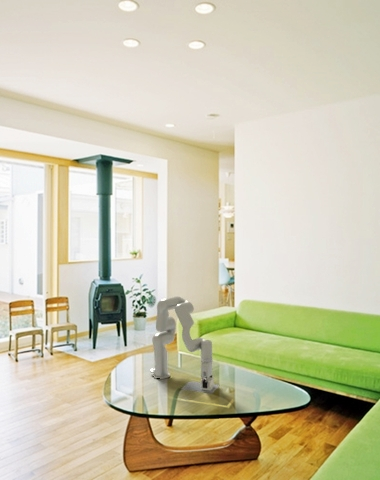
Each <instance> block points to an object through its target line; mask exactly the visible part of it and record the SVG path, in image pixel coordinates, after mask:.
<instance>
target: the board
mask: <svg viewBox="0 0 380 480" xmlns="http://www.w3.org/2000/svg"><path fill="white" fill-rule="evenodd" d="M220 386H221V385H220V384H215V383H214V387H213V388H212V390H211V391H210V390H203V389H201V381H200V382H199V381H193V380H190V381H188V382H187V383H186V384H185V385H183V387H182V388H181V390H183V391H190V392H197V393H203V394H210V395H211V394H214V392H215V391H216V390H217V389H218V388H219V387H220Z"/></svg>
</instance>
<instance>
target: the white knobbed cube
mask: <svg viewBox="0 0 380 480" xmlns="http://www.w3.org/2000/svg"><path fill="white" fill-rule="evenodd" d="M204 379H205V378H204ZM205 380H206V379H205ZM214 381H215V380H214V377H212V378H211V377H209V378H207V388H203V387H202V379H200V382H201V389H203V390H210V391H211V390H212V388H213V387H214V384H215V382H214Z"/></svg>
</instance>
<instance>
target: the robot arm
mask: <svg viewBox="0 0 380 480" xmlns="http://www.w3.org/2000/svg"><path fill="white" fill-rule="evenodd" d="M171 310H174V312H175V314H176V316H177V318H178V320H179V323H180V325H181V327H182V331H181V338H182V342H183V344H184V346H185V348H186V350H187V351H189V353H195V352H197V351H200V362H201V365H200V377H201V380H202V387H203V388H207V378H209V377H211V378H213V372H214V371H213V362H214V361H213V342H212V341H211V340H209V339H205V338H203V337H196V338H194V339H193V338H192V337H191V333H190V331H191V328H192V327H193V325H194V324H195V322H194V320H193V317H192V315H191V314H192V313H194V310H195V308H194V305H193V303H192V302H190V301H189V300H186V299H184V298H183V297H181V296H172V297H167V298H166V297H165V298H163V299H160V300H159V301H158V302H157V305H156V311H157V312H156V321H155V330H156V332H158V333H155V334H154V335H152V345H153V357H154V368H150V373H152V377H153V376H154V377H155V378H154V377H153V378H154V379H156V378H160V379H159V380H163V379H168V378H169V377H170V376H171V373H170V372H169V368H168V367H169V366H168V361H169V360H168V350H167V347H166V345H169V344H172V343H173V342H174V340H175V337H176V326H177V323H176V320H175V318H174V317H172V316H170V315H169V314H170V313H169V311H171ZM204 378H205V379H206V380H205V379H204Z"/></svg>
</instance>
